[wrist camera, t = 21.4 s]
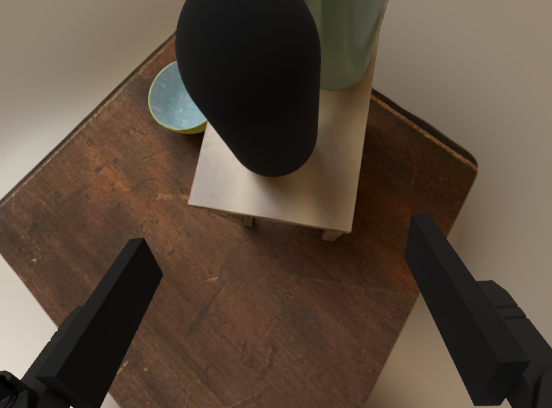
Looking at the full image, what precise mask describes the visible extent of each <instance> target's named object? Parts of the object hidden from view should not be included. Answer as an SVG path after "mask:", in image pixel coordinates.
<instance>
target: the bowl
mask: <svg viewBox="0 0 552 408" xmlns="http://www.w3.org/2000/svg"><path fill="white" fill-rule="evenodd" d="M148 102H149V108H150V112H151V114H152V116H153V117H154V119H155V120H156V121H157V122H158V123H159V124H161V125H162V126H164V127H165V128H167V129H169V130H171V131H174V132H177V133H182V134H195V133H200V132H203V131H205V130H206V125H207V121H208V120H207V119H206V118H205V117H204V115H203V114H202V113H201V111H200V110H199V109H198V107H197V106H196V105H195V104H194V102H193V101H192V99H191V98H190V96H189V94H188V92H187V90H186V88H185V86H184V84H183V81H182V79H181V76H180V73H179V69H178V65H177V61H175V62H173V63H171V64H169V65H168V66H166V67H165V68H164V69H163V70H162V71H161V72H160V73H159V74H158V75H157V76H156V78H155V79H154V81H153V83H152V85H151V88H150V91H149V97H148Z"/></svg>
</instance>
